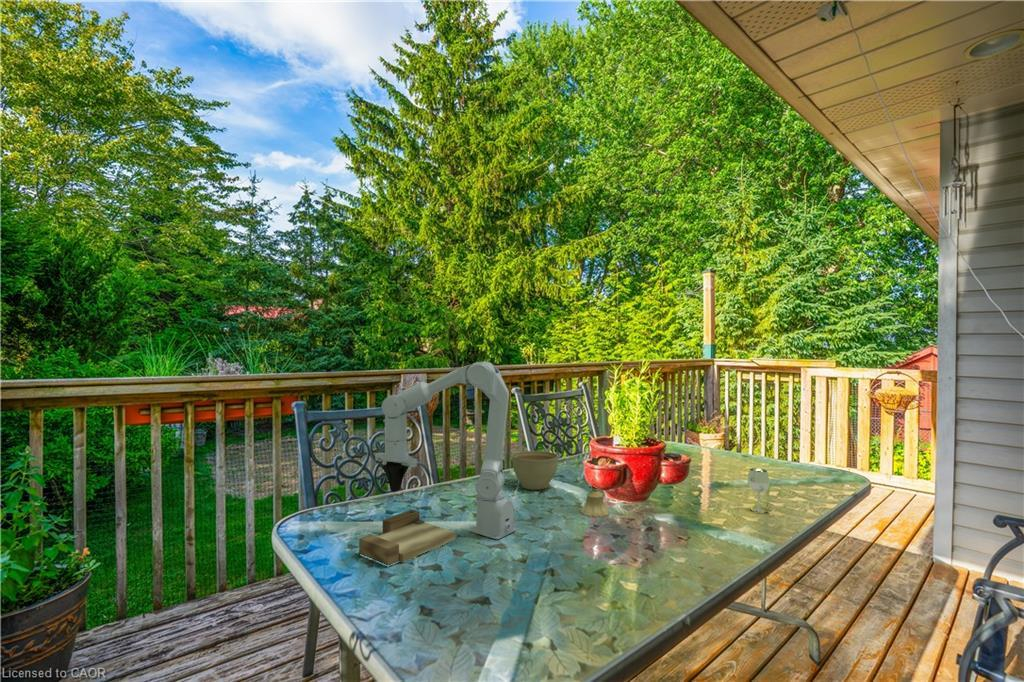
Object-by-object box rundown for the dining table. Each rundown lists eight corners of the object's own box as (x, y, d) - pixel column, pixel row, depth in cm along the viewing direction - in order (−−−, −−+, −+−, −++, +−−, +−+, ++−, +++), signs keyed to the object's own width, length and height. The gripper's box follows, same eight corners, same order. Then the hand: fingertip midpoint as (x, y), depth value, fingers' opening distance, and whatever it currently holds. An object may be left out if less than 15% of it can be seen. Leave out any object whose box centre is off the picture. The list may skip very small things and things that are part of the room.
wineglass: (764, 508, 149) (764, 468, 150) (772, 514, 144) (772, 472, 144) (744, 507, 150) (744, 467, 150) (752, 513, 144) (752, 472, 144)
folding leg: (419, 526, 131) (419, 510, 131) (390, 538, 123) (390, 521, 123) (411, 524, 133) (411, 508, 133) (382, 536, 124) (382, 518, 124)
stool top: (455, 540, 123) (455, 523, 123) (391, 569, 106) (391, 550, 106) (419, 528, 130) (419, 513, 130) (353, 553, 114) (353, 536, 114)
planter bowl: (566, 484, 174) (566, 453, 174) (544, 496, 160) (544, 462, 160) (526, 478, 182) (526, 448, 182) (502, 488, 168) (502, 456, 169)
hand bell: (601, 519, 138) (601, 462, 139) (575, 513, 143) (575, 458, 144) (614, 511, 145) (614, 457, 145) (589, 506, 150) (589, 453, 150)
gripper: (425, 440, 132) (425, 491, 132) (389, 434, 140) (389, 483, 140) (405, 444, 126) (405, 498, 126) (369, 438, 135) (368, 488, 134)
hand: (395, 490), depth 133 cm, fingers closed
